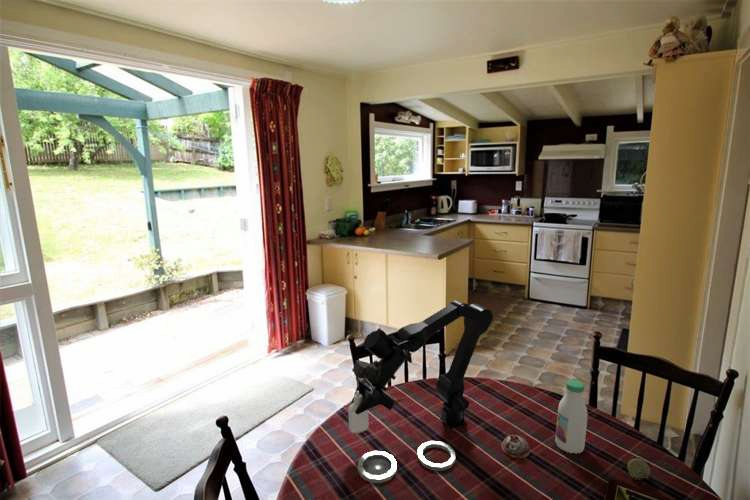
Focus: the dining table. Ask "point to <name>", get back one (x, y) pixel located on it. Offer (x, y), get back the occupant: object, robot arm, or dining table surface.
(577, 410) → the milk bottle
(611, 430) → the dining table surface
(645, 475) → the lime
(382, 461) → the collar
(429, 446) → the collar
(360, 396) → the eye dropper bottle
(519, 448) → the pastry
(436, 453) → the dining table surface
